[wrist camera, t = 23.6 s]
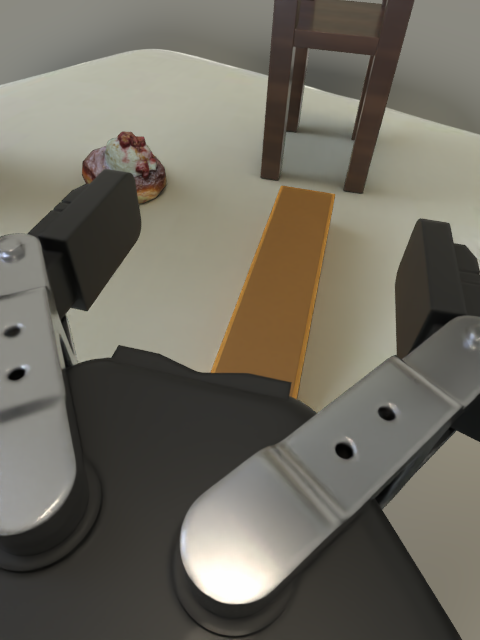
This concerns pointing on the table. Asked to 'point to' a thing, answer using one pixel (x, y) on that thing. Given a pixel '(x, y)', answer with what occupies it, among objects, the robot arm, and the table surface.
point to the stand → (342, 36)
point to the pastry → (128, 164)
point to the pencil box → (279, 291)
